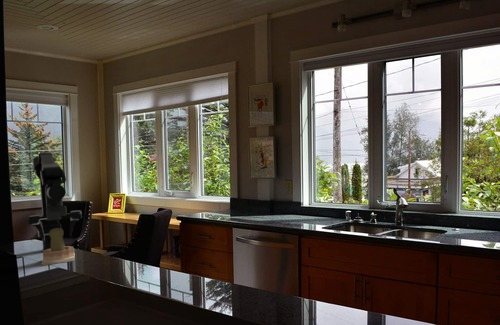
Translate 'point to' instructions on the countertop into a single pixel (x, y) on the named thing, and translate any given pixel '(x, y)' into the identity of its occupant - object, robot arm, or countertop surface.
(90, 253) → the countertop surface
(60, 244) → the cork
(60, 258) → the socket board
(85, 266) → the countertop surface
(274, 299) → the countertop surface
